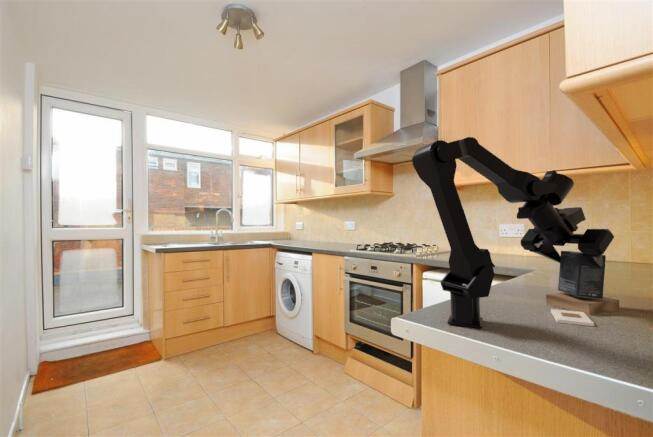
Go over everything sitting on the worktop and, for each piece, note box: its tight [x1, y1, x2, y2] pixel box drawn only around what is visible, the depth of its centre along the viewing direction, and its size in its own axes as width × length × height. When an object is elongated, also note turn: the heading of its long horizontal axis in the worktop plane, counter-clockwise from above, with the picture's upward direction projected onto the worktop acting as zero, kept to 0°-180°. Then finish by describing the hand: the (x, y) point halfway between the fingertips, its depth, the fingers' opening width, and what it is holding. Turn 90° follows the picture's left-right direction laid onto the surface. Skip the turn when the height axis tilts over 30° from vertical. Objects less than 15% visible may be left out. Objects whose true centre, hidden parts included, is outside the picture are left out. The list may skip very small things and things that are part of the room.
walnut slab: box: [545, 292, 620, 316], centre depth 75 cm, size 10×10×2 cm
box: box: [557, 250, 607, 300], centre depth 75 cm, size 8×6×11 cm
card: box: [550, 308, 595, 327], centre depth 67 cm, size 9×6×1 cm, turn 150°
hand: (580, 263), depth 75 cm, fingers closed on box, 9 cm apart
